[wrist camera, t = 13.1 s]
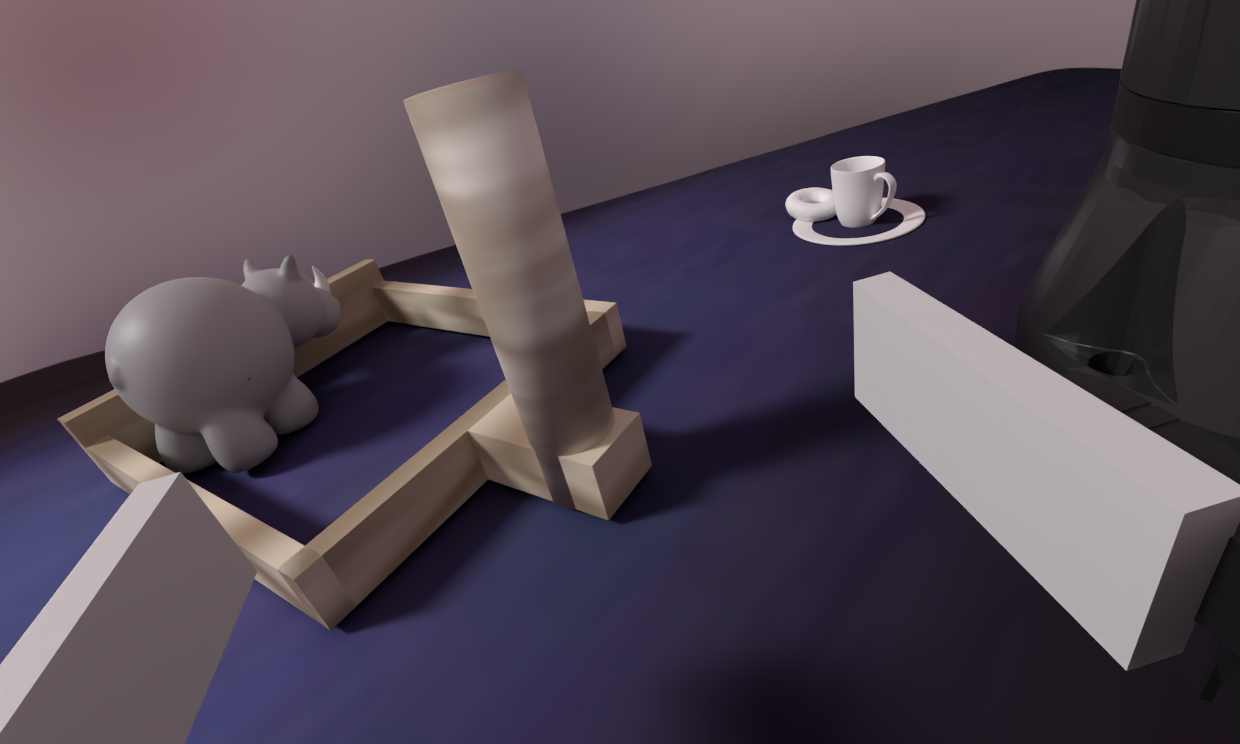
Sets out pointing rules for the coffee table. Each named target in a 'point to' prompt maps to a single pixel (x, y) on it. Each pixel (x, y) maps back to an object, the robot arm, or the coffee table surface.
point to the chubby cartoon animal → (220, 362)
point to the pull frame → (495, 307)
